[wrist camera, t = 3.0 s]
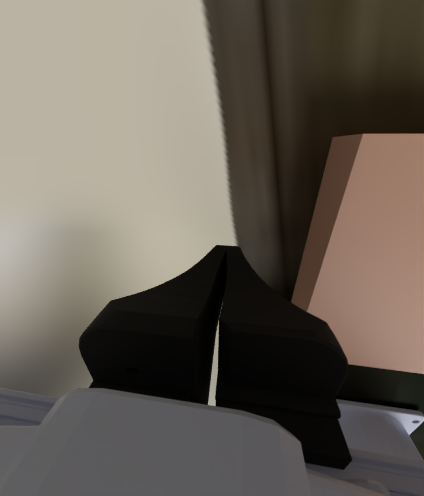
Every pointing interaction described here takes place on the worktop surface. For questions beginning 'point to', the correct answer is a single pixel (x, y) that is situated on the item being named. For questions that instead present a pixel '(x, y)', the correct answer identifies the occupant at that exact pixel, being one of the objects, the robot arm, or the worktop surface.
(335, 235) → the book
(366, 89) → the worktop surface
